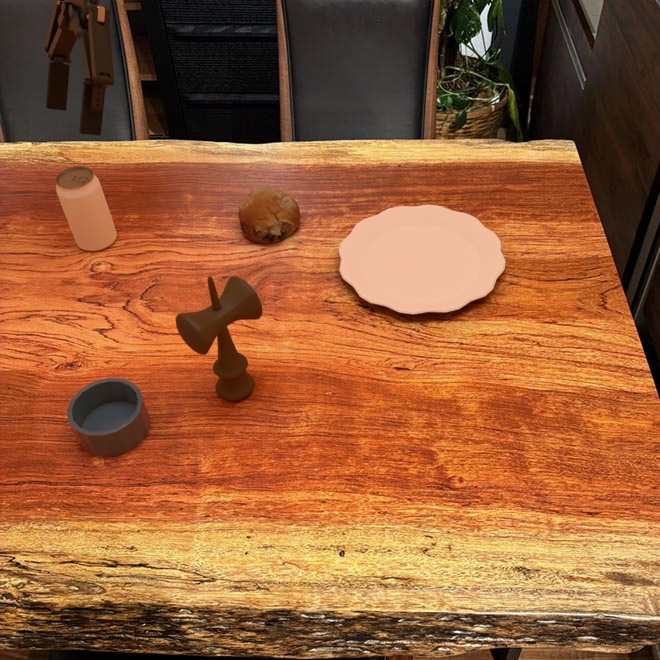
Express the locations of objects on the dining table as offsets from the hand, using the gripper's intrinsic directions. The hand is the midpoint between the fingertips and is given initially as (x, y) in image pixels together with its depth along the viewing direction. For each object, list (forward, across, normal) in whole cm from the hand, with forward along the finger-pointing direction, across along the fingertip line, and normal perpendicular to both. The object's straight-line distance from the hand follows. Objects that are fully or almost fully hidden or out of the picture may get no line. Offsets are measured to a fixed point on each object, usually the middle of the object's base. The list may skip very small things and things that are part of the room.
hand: (72, 121), depth 115 cm
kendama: (+25, -37, -11) cm, 46 cm away
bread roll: (+11, -11, -29) cm, 33 cm away
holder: (+31, -33, +4) cm, 45 cm away
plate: (+9, -34, -42) cm, 55 cm away
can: (+19, +3, -7) cm, 21 cm away
